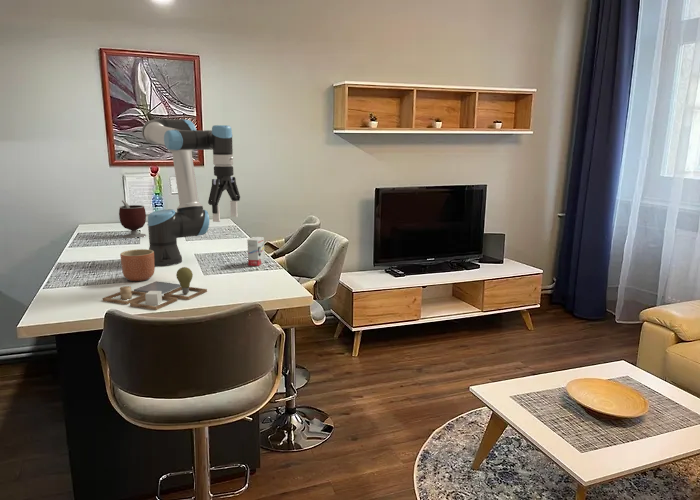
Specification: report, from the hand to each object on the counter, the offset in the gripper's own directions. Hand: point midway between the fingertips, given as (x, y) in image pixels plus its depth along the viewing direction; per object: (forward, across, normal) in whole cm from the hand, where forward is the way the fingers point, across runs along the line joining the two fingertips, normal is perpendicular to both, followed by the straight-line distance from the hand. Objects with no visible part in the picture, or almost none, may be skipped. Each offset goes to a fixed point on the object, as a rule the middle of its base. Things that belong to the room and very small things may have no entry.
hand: (225, 219), depth 210 cm
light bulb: (+24, -27, +1) cm, 36 cm away
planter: (+24, -16, +31) cm, 42 cm away
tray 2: (+23, -40, +5) cm, 47 cm away
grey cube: (+24, -40, +5) cm, 47 cm away
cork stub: (+24, -39, +18) cm, 49 cm away
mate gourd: (+24, +58, +95) cm, 114 cm away
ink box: (+24, +22, -1) cm, 33 cm away
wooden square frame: (+24, -39, +18) cm, 49 cm away
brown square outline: (+23, -27, +1) cm, 36 cm away
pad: (+24, -25, +15) cm, 37 cm away
